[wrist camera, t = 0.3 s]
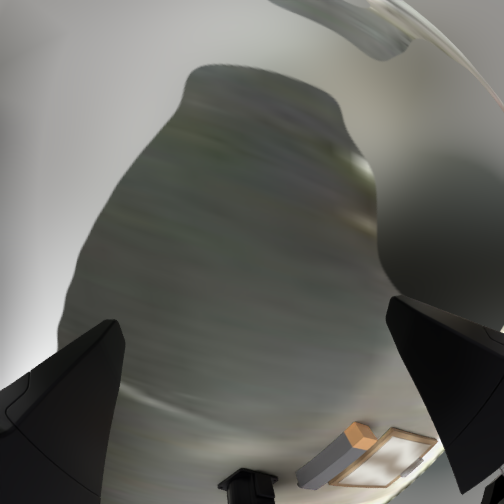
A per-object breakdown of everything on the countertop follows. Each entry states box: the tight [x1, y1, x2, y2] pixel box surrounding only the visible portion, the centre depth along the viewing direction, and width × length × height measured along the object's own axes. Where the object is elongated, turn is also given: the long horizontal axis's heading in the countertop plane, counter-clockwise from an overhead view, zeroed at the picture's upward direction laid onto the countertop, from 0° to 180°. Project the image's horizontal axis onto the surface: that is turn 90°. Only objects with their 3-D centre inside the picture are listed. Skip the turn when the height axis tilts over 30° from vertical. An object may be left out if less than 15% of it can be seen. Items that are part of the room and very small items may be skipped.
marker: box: [295, 422, 378, 490], centre depth 27 cm, size 13×3×3 cm, turn 145°
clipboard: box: [328, 427, 438, 488], centre depth 30 cm, size 14×18×2 cm
